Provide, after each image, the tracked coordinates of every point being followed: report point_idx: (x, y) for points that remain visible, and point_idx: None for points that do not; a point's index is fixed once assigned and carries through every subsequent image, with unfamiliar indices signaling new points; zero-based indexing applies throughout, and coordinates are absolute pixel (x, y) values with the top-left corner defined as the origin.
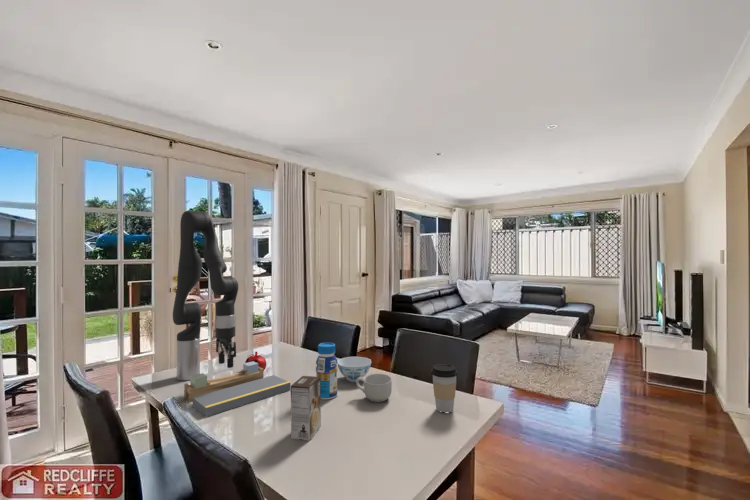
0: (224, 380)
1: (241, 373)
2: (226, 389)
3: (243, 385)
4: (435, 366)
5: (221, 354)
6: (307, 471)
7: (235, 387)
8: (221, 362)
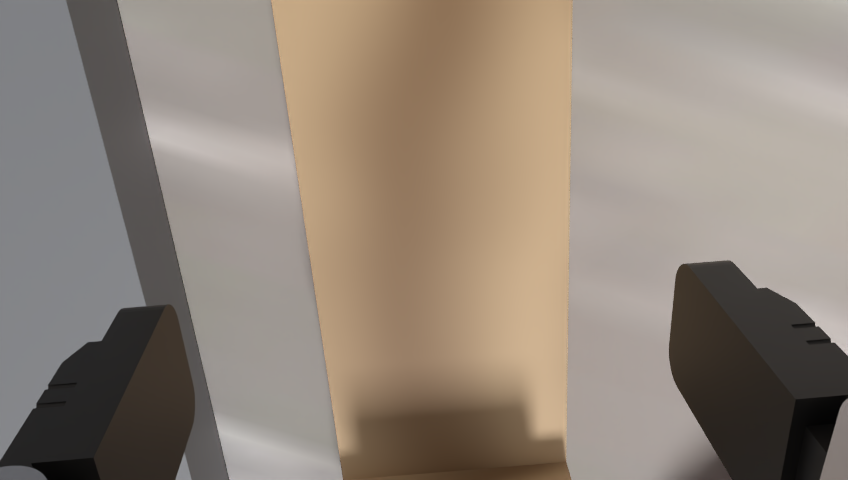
0: (335, 153)
1: (494, 450)
2: (20, 69)
3: (65, 323)
4: None
5: (800, 469)
6: None
7: (39, 209)
8: (683, 317)
